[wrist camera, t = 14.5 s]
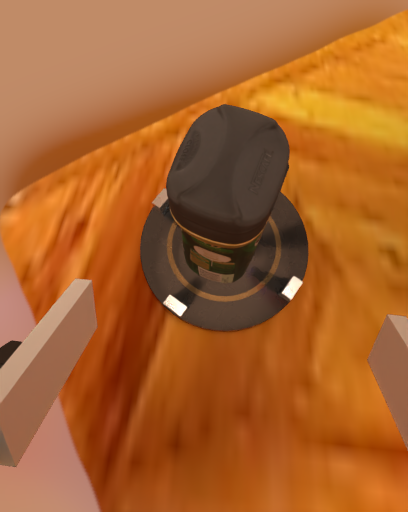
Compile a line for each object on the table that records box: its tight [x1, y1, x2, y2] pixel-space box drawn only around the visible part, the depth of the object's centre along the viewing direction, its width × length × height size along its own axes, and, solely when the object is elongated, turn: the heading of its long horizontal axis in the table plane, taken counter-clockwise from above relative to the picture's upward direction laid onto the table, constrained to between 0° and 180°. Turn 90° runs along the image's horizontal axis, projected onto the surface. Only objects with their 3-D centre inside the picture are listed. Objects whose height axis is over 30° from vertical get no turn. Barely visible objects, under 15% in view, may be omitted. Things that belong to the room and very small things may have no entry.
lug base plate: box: [140, 188, 308, 331], centre depth 39 cm, size 20×20×3 cm
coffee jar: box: [166, 104, 289, 283], centre depth 30 cm, size 10×8×19 cm
